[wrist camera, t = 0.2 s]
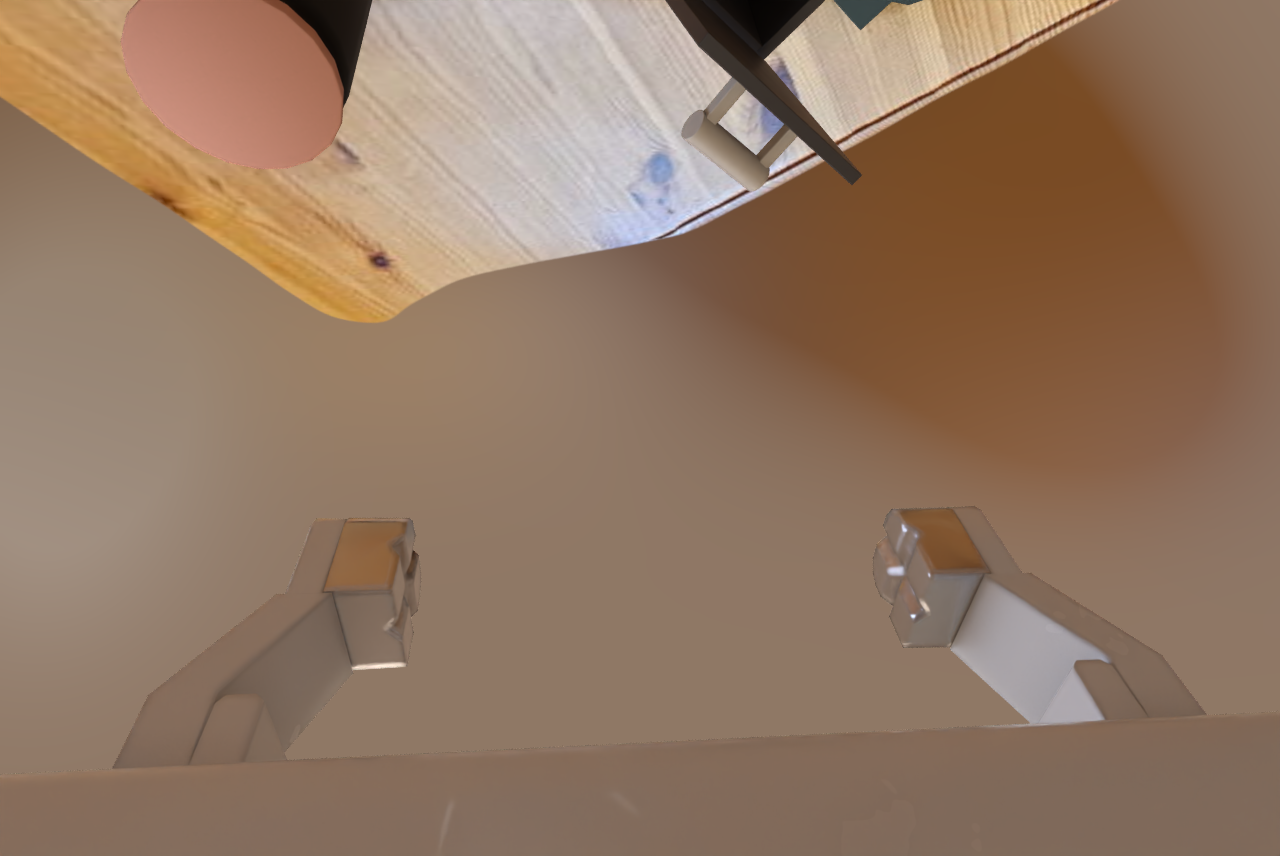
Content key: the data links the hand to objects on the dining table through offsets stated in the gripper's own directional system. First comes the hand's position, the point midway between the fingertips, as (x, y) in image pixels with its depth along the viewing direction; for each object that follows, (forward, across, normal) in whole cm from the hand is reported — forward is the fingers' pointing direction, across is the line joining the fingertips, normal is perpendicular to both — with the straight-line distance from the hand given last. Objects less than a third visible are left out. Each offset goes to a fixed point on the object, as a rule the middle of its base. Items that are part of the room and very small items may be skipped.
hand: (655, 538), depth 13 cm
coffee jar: (+53, +19, -4) cm, 57 cm away
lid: (+36, -8, -1) cm, 37 cm away
